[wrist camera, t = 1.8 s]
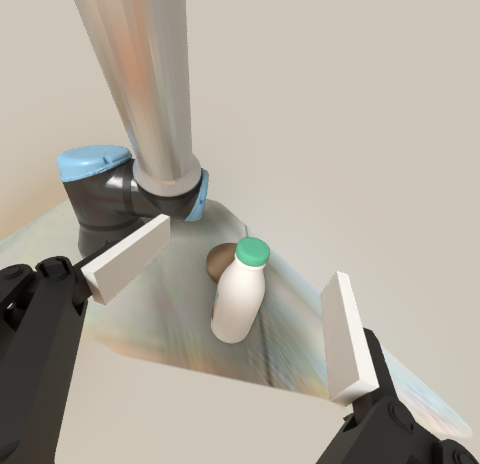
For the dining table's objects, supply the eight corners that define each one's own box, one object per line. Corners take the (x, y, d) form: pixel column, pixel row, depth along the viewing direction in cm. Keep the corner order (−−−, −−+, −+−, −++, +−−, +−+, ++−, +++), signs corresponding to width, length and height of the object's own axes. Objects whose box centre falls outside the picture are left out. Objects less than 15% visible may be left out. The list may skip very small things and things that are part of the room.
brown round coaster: (195, 272, 45) (195, 266, 44) (222, 242, 56) (223, 236, 55) (247, 299, 42) (249, 293, 41) (266, 261, 53) (268, 256, 51)
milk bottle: (257, 329, 37) (293, 254, 25) (225, 354, 32) (252, 277, 21) (233, 299, 41) (255, 224, 30) (202, 318, 36) (214, 238, 25)
